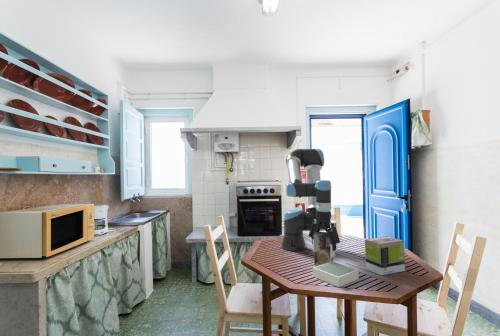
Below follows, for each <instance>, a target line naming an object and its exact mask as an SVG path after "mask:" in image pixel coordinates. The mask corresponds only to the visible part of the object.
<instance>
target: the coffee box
mask: <svg viewBox="0 0 500 336" xmlns="http://www.w3.org/2000/svg"><path fill="white" fill-rule="evenodd" d="M330 244H331V240H330V238H329V236H328V234H327V232H326V231H319V232H315V233H314V253H313V255H314V257H313V259H314V261H313V263H314V265H313V266H314V267H316V266H319V265H323V264H326V263H329V262H332V261H333V262H334V257H332V258H331V257H330Z"/></svg>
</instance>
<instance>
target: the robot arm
mask: <svg viewBox="0 0 500 336" xmlns="http://www.w3.org/2000/svg"><path fill="white" fill-rule="evenodd" d="M285 165H286V167H287V174H288V182H287V183H286V186H285V187H286V188H285V195H286V196H287V197H288V198H289V197H291V198H292V197H293V198H307V205H308V206H307V207H306V208H305V211H304V210H303V208H302V209H301V208H296V209H293V208H292V209H289V210H286V211H285V212H284V213H283V237H282V241H281V243H280V245H281V246H280V247H281V249H283V250H286V251H290V252H291V251H292V252H299V251H305V250H306V249H307V244H306V241H305V237H304V232H309V233H308V237H309V238H311V245H312V252H314V233H315V232H327V234H328V236H329V238H330V240H331V244H330V257H331V258H332V257H333V258H335V257H336V251H337V244H340V243H341V241H340V238H339V237H340V236H339V232H338V229H337V222H332V220H331V218H332V184H331V183H332V182H331V181H330V180H327V179H326V180H325V179H321V170H322V169H323V167H324V166H325V155H324V152H323V150H322V149H320V148H297V149H294V150H293V151H291V152H289V154H288V155H287V157H286V159H285ZM301 167H303V169H304V171H306V182H303V178H302V177H303V176H302V172H301Z"/></svg>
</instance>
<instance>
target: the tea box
mask: <svg viewBox="0 0 500 336" xmlns="http://www.w3.org/2000/svg"><path fill="white" fill-rule="evenodd" d="M364 246H365V247H364V248H365V249H364V252H365V269H366V270H368V271H370V272H371V273H372V272H373V273H375V274H377V275H379V276H386V275H390V274H396V273H400V272H405V271H406V260H405V258H406V257H405V256H406V255H405V240H402V239H398V238H395V237H391V236H381V237H373V238H367V239H366V238H365V239H364Z"/></svg>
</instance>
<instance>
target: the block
mask: <svg viewBox="0 0 500 336" xmlns="http://www.w3.org/2000/svg"><path fill="white" fill-rule="evenodd" d="M359 276H360V275H359V270H358V269H356V268H353V267H352V266H347V265H344V264H341V263H339V262H336V261H334V260H333V261H332V262H329V263H326V264H323V265H319V266H314V267H312V278H315V279H319V280H321V281H323V282H325V283H327V284H330V285H333V286H334V287H337V288H340V287H342V286H343V287H344V286H345V285H348V284H351V283H353V282H355V281H357V280H359Z"/></svg>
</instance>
